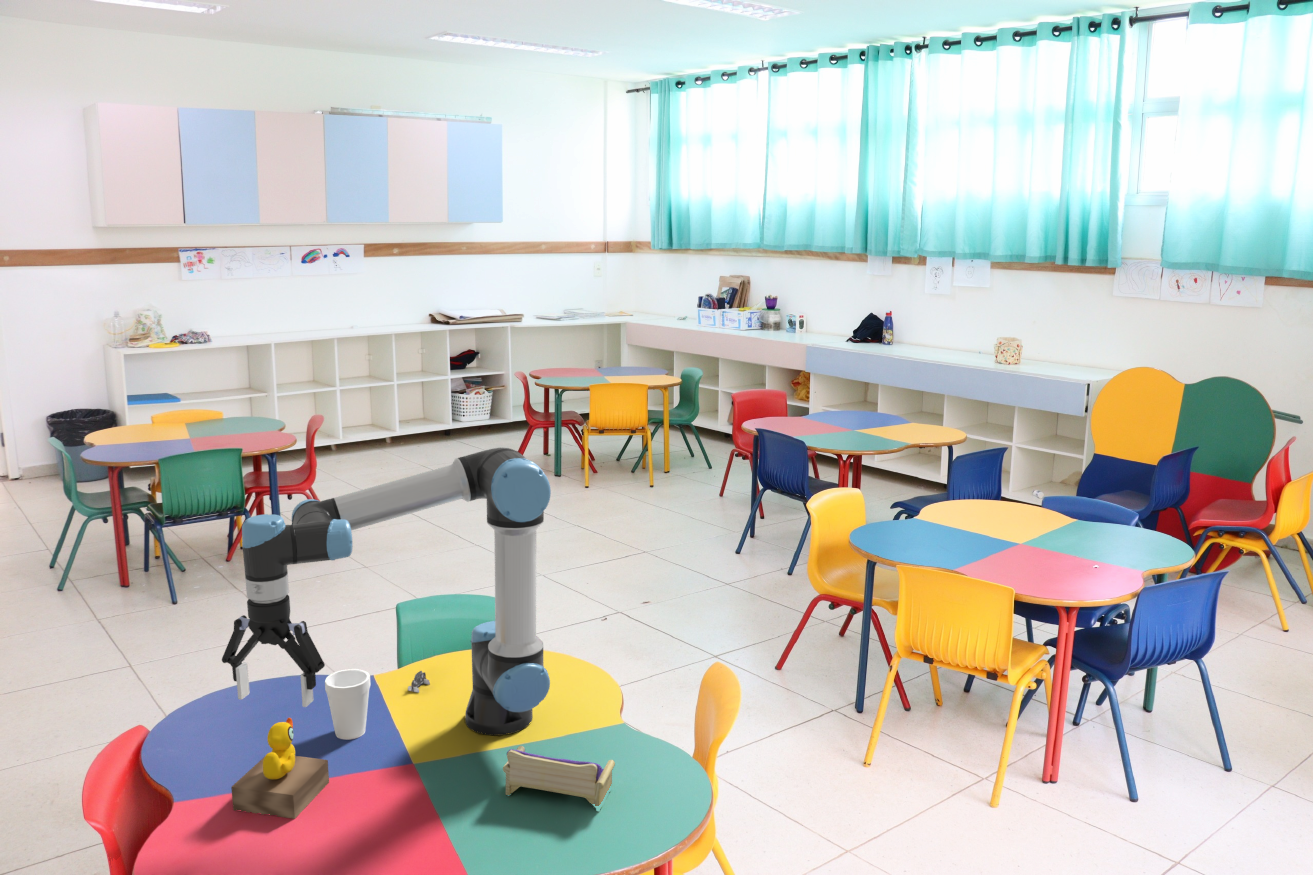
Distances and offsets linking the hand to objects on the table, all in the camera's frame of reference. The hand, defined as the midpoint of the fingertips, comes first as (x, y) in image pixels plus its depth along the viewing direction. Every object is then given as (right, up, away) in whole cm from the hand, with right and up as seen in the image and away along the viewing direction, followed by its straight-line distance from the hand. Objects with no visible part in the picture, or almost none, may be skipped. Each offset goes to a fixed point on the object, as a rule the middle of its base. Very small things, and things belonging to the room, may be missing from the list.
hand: (275, 700), depth 198 cm
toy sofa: (+54, -21, +7) cm, 58 cm away
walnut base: (0, -20, +4) cm, 21 cm away
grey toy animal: (+17, -10, +55) cm, 58 cm away
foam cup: (+6, -15, +29) cm, 33 cm away
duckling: (0, -15, +3) cm, 16 cm away
